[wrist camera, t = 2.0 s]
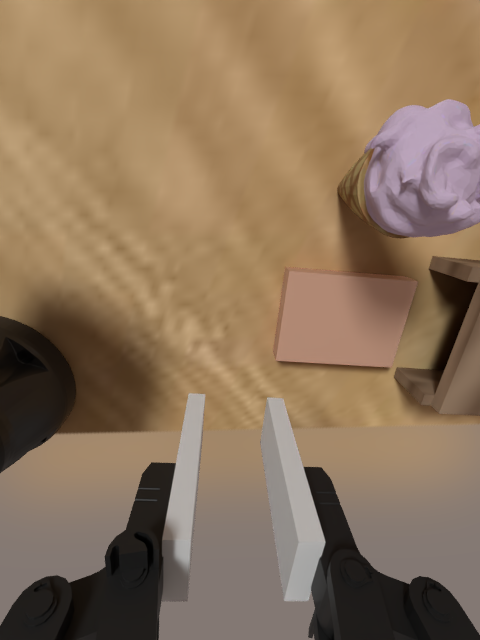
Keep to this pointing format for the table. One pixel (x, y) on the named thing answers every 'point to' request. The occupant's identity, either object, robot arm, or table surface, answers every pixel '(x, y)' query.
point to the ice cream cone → (419, 173)
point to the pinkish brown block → (341, 317)
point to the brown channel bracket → (452, 355)
